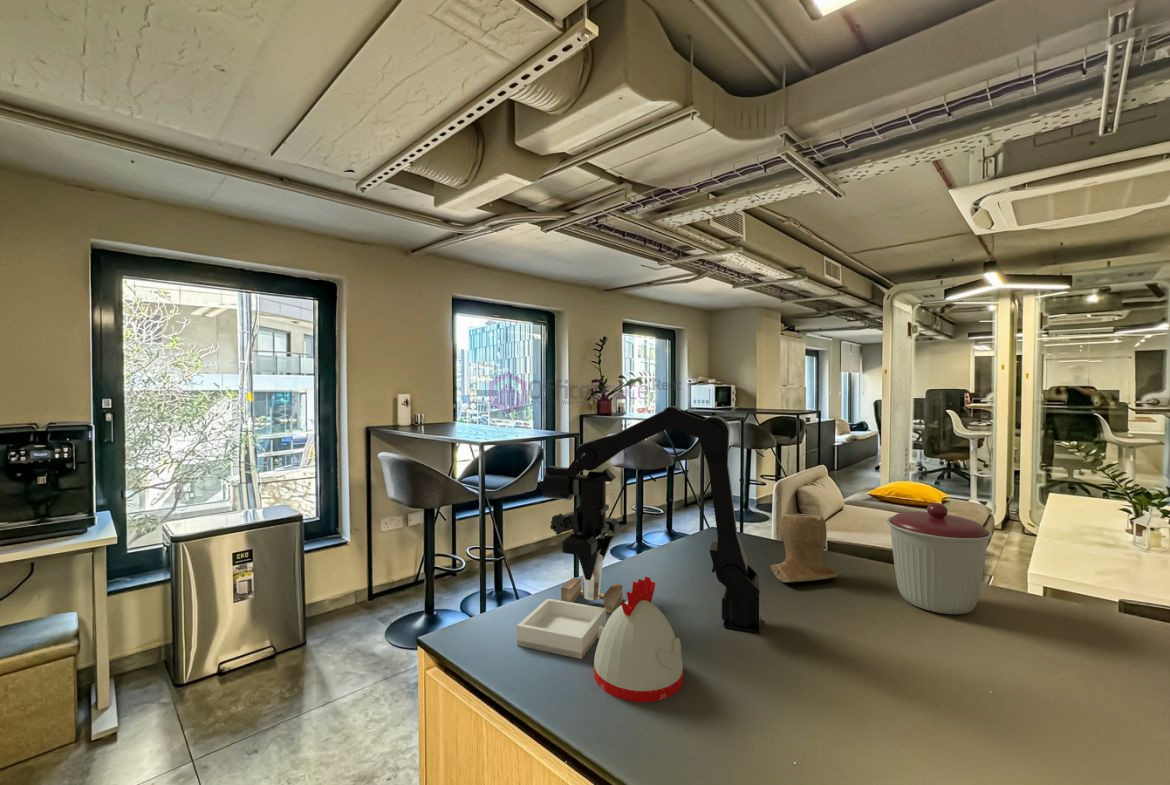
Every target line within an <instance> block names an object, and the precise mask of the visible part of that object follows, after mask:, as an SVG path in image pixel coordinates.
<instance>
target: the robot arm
mask: <svg viewBox="0 0 1170 785" xmlns="http://www.w3.org/2000/svg"><path fill="white" fill-rule="evenodd" d="M670 428H673V429H675V430H677V431H680V432H682V433H685V434H687V435H689V436H692V437H695V438H697V439H698V440H699V444H700V447H701V451H702V454H703V456H704V458H705V460H706V463H707V466H708V473H709V481H710V488H711V496H712V504H713V510H714V512H713V513H714V518H715V526H716V534H717V541H711V543H710V547H709V555H710V558H711V561H712V569H711V572H712V573H715V576H716V578H717V580H718V582H719V583H721V585H723V586H725V590H724V593H723V594H722V597H721V619H722V620H723V624H722V625H723V627H724V628H727V629H733V630H738V631H745V632H751V633H757V634H759V633H760V631H761V624H762V623H761V622H762V621H761V620H762V616H761V590H760V582H759V581H760V580H759V574H758V573H757V572H756V571H755V569H753V568H752V566H750V564H748V559H747V556H746V553H745V549H744V545H743V542H742V540H741V538H740V535H739V532H738V528H737V519H736V514H735V506H734V505H735V504H734V496H733V491H732V482H731V475H730V468H729V452H730V450H729V449H730V434H731V433H730V431H731V430H730V425H729V423H728V421H727V420H726V419H725V418H724V417H722V416H719V415H710V416H708V417H706V416H704V415H701V414H699V413H698V414H697V413H694V412H691V411H689V410H685V409H682V408H680V407H679V406H675V405H671V406H668V407H665V408H664V409H663V410H661V411H659V412H658V413H656V414H653V415H652V416H649V417H648V418H645V419H644V420H641V421H639V422H638V423H635V424H633V425H631V426H629V427H626V428H624V429H623V430H621V431H619V432H617V433H614V434H610V435H607V436H603V437H599V438H595V439H592V440H589V441H587V442H583V443H582V444H580V445H579V446H577V448H576V450H575V456H574V457H575V458H574V460H573V461H572V462H571V464H570V465H569V466H568V467H561V466H560V467H559V466H556V465H549V466H546V467H545V473H544V475H543V480H542V483H541V494H542V496H543V498H545V499H555V500H556V499H557V500H567V501H568V500H569V501H571V500H572V499H573V498H574V496H577V494H578V503H577V504H578V505H577V506H575V507H574V508H573V511H571V512H568V513H564V514H562V513H559V514H555V515H553V516H552V517H551V521H550V527H549V528H550V529H551V530H552V531H553V532H554V533H555V535H557V536H558V535H562V533H566V532H568V531H572V533H571V534H570V535H568V536H567V537H566V538H565V539H564V540H562V541H561V552H562V553H563V554H570V555H576V556H577V557H578V560H579V563H580V566H581V569H582V570H583V573H584V576H585V579H586V580H591V578H592V575H593V572H594V569H595V566H596V563H597V560H598V557H599V554H600V555H602V556H603V561H604V560H605V558H606V555H607V553H608V550H609V548H610V546H611V543H612V541H613V540H614V536H613V535H616V534H617V533H618V532H619V531H620V523H619V521H618V520H617V519H616V518H615V517H608V516H607V511H609V510H610V504H607V496H606V495H607V490H606V489H607V484H606V483H607V482H612V481H614V480H615V479H616V478H617V476H616V475H615V474H613V473H612V472H611V471H610V469H609V468H608V467H607V468H605V469H604V470H603V471H595V470H596V469H598V468H599V467H601V466H603V465H604V464H606V463H608V462H609V461H610V460H611V459H613V458H614V457H616V456H617V455H619V454H620V453H621V452H623V451H624V450H625V449H627V448H630V447H632V446H634V445H636V444H638V443H641V442H642V441H644V440H647V439H649V438H651V437H653V436H656V435H657V434H659V433H662V432H663V431H666V430H667V429H670ZM584 471H588V473H587V474H580V473H582V472H584ZM607 531H611V533H612V534H613V535H608V532H607ZM582 570H581V571H582ZM583 573H582V574H583Z"/></svg>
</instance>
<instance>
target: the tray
mask: <svg viewBox="0 0 1170 785" xmlns="http://www.w3.org/2000/svg"><path fill="white" fill-rule="evenodd" d="M606 618H607V612H606V608H604V607H599V606H593V605H589V604H582V603H577V602H573V603H572V602H566V601H561V599H559V600H558V599H554V598H546V599H545V600H544V601H542V602H541V604H539V605H538V606H537V607H536V608H535V609H534V610H533V611H532V612H530V613H529V614H528V615H527V616H526V617H525V618H524V619H523V620H522V621H520V622H519V623H518V624H517V625H516V646H519V647H524V648H528V649H533V650H536V651H543V652H547V653H551V654H557V655H560V656H561V655H562V656H565V657H570V658H575V659H579V660H583V659H584V657H585V656H586V654H587V653H588V651H590V649H591V647H592V646H593V645H594V644H595V642H596V640H598V639H599V637H598V631H599V627H600V626H602V627H604V626H605V624H606V623H607V620H606Z"/></svg>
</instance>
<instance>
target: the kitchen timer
mask: <svg viewBox="0 0 1170 785" xmlns="http://www.w3.org/2000/svg"><path fill="white" fill-rule="evenodd" d="M655 588H656V582H655V581H651V577H648V576H644V579H641V578H638V582H637V581H632V589H631V592H630V591H627V592H626V597H627V601H625V602H624V601H622V602H621V604H620V605H619V607H618V608H617V609H616V610H615V611H614V612H613V613H611V614H610V616H609V617H608V619H607V620H606V624H605V626H604V627H602V626H600V627H599V631H598V639H599V640H598V643H597V646H596V648H595V653H594V658H593V659H594V660H593V665H594V666H593V667H594V668H593V671H594V672H593V675H594V677H593V678H594V681H595V682H596V683H597V686H598V687H599V688H601V689H602V690H603V691H604V692H605V693H606V694H609V695H611V696H613V697H615V698H617V699H621V700H624V701H629V702H639V703H647V702H648V703H649V702H658V701H660V700H661V701H662V700H663V699H664V700H665V699H667V698H669V697H671V696H672V695H674V694H676V693H677V692H678V691H679V690H680V688H681V687H682V686H683V681H684V674H683V673H684V672H683V671H684V666H683V665H684V664H683V659H682V645H681V638H679V637H676V635H675V633H674V630H673V628H672V625H671V624H670V622H669V621H668V619H667V617H666V616H665V614H664V613H663V612H662V611H661V610H660V609H659V607H657V606H656V605H654V604H653V603H652V601H653V596H654V593H655V592H654V591H655Z"/></svg>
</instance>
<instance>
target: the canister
mask: <svg viewBox="0 0 1170 785" xmlns="http://www.w3.org/2000/svg"><path fill="white" fill-rule="evenodd" d="M948 513H949V511H948V508H947V507H946V505H945V504H942V503H936V502H935V503H934V502H933V503H930V504H929V505H928V506H927V507H926V511H905V512H904V511H903V512H899V513H896V514H895V515H892V516H890V517H888V518H886V523H887V525H888V526H889V527H890V537H891V545H892V556H893V563H894V564H893V565H894V571H895V572H894V573H895V581H896V586H897V588H898V591H899V594H900V596H901V597H903V599H904V600H905V601H907V603H909V604H911V605H914V606H915V607H917V608H919V609H923V610H926V611H929V612H934V613H938V614H943V615H944V614H946V615H964V614H968V613H970V612H972V611H973V610H974V609H975V607H976V605H978V601H979V597H980V591H981V586H982V581H983V575H984V569H985V564H986V563H985V562H986V555H987V549H988V543H989V542H988V541H989V540H990V539H991V538H992V537H993V533H992V531H991V530H989V529H988V528H986V527H985V526H983V525H982V524H980V523H979V522H976V521H974V520H971V519H969V518H965V517H961V516H958V515H957V516H956V515H951V514H948Z"/></svg>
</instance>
